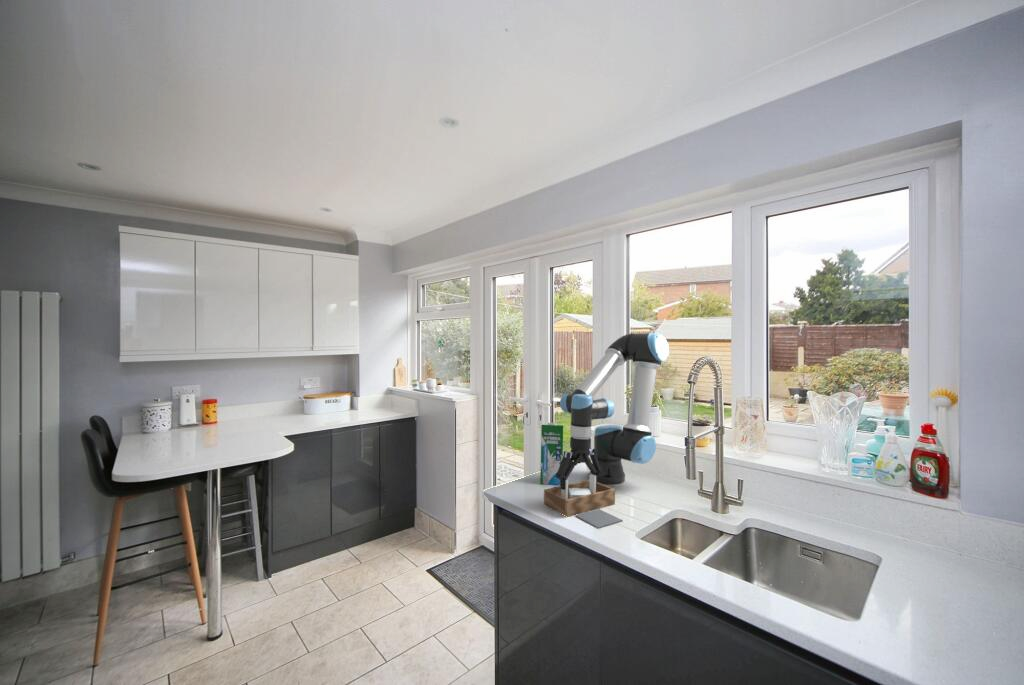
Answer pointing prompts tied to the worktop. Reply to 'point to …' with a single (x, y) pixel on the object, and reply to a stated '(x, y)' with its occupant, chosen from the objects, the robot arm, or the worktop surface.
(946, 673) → the worktop surface
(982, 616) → the worktop surface
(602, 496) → the walnut frame
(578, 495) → the small box
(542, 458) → the milk carton
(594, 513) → the rubber pad
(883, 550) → the worktop surface
